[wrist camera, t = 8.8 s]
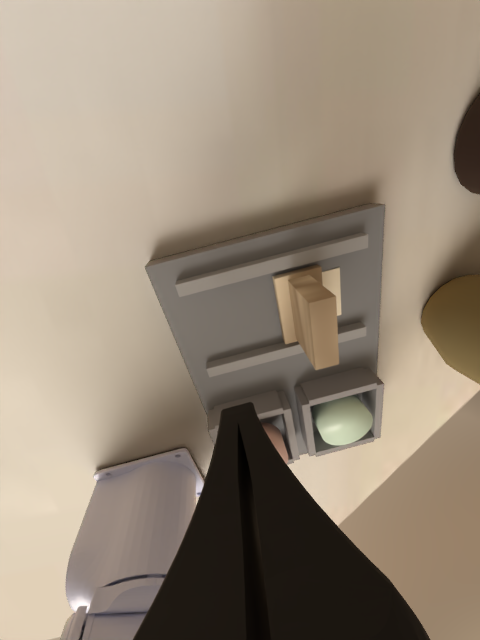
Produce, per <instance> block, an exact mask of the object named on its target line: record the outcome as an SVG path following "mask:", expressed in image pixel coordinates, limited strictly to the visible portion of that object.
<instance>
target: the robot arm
mask: <svg viewBox="0 0 480 640" xmlns="http://www.w3.org/2000/svg"><path fill="white" fill-rule="evenodd" d="M93 477H94V479H95V480H96V481H97V483H96V486H95V488H94V491H93V494H92V496H91V499H90V502H89V505H88V507H87V510H86V513H85V515H84V518H83V521H82V524H81V526H80V529H79V532H78V534H77V537H76V540H75V543H74V545H73V548H72V551H71V554H70V558H69V562H68V567H67V574H66V596H67V600H68V603H69V605H70V607H71V608H72V610H73V611H74V612H76V613H73V614H72V615H71V616H70V617H69V618H68V619H67V621H66V624H65V626H64V629H63V632H62V635H61V638H60V640H430V638H429V636H428V635H427V633H426V631H425V629H424V628H423V626H422V624H421V623H420V621H419V620H418V618H417V617H416V615H415V614H414V612H413V611H412V609H411V608H410V607H409V605H408V604H407V602H406V601H405V600H404V598H403V597H402V596H401V594H400V593H399V592H398V591H397V589H396V588H395V587H394V585H393V584H392V582H391V581H390V580H389V579H388V578H387V577H386V576H385V575H384V574H383V573H382V572H381V571H380V570H379V569H378V568H377V567H376V566H375V565H374V564H373V563H372V562H371V561H370V560H369V559H368V558H367V557H366V556H365V555H364V554H363V553H362V552H361V551H360V550H359V549H358V548H357V547H356V546H355V545H354V544H353V542H352V541H351V540H350V539H349V538H348V537H347V536H346V535H345V534H344V533H343V532H342V531H341V530H340V529H339V528H338V526H337V525H336V524H335V523H334V522H333V521H332V520H331V519H330V517H329V516H328V515H327V514H326V513H325V512H324V511H323V509H322V508H321V507H320V506H319V505H318V504H317V503H316V501H315V500H314V499H313V498H312V497H311V495H310V494H309V493H308V492H307V491H306V489H305V488H304V487H303V486H302V484H301V483H300V482H299V480H298V479H297V478H296V477H295V475H294V474H293V473H292V471H291V470H290V468H289V467H288V466H287V464H286V463H285V461H284V460H283V458H282V457H281V456H280V454H279V453H278V451H277V450H276V448H275V446H274V445H273V443H272V442H271V440H270V438H269V437H268V435H267V433H266V432H265V430H264V428H263V426H262V424H261V422H260V420H259V418H258V416H257V413H256V411H255V408H254V404H253V403H252V402H248V403H244V404H240V405H237V406H233V407H229V408H226V409H223V410H222V411H221V415H220V422H219V428H218V433H217V438H216V443H215V447H214V451H213V455H212V459H211V462H210V466H209V469H208V472H207V476H206V479H205V482H204V480H203V478H202V476H201V474H200V472H199V470H198V468H197V467H196V465H195V463H194V461H193V459H192V457H191V455H190V453H189V451H188V450H187V449H186V448H181V449H177V450H173V451H170V452H166V453H162V454H158V455H155V456H151V457H147V458H143V459H140V460H136V461H132V462H128V463H125V464H121V465H117V466H113V467H110V468H106V469H102V470H98V471H96V472H95V473H94V476H93ZM198 496H200V497H199V500H198V503H197V505H196V497H198Z"/></svg>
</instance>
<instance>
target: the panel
mask: <svg viewBox="0 0 480 640" xmlns="http://www.w3.org/2000/svg"><path fill="white" fill-rule="evenodd" d="M384 216H385V204H372V203H370V204H366V205H362V206H359V207H355V208H351V209H347V210H343V211H339V212H336V213H332V214H328V215H324V216H320V217H316V218H313V219H309V220H305V221H301V222H297V223H294V224H290V225H286V226H282V227H278V228H274V229H271V230H267V231H263V232H259V233H255V234H251V235H248V236H244V237H240V238H236V239H232V240H228V241H225V242H221V243H217V244H213V245H209V246H205V247H202V248H198V249H194V250H190V251H186V252H182V253H179V254H175V255H171V256H167V257H163V258H159V259H156V260H152V261H149V262H148V264H147V265H146V266H145V269H146V272H147V274H148V276H149V279H150V281H151V283H152V286H153V288H154V290H155V293H156V295H157V298H158V300H159V302H160V305H161V307H162V309H163V312H164V314H165V317H166V319H167V321H168V324H169V326H170V328H171V331H172V333H173V336H174V338H175V340H176V343H177V345H178V347H179V350H180V352H181V355H182V357H183V359H184V362H185V364H186V366H187V369H188V371H189V374H190V376H191V378H192V381H193V383H194V385H195V388H196V390H197V393H198V395H199V397H200V400H201V402H202V404H203V407H204V409H205V412H206V414H207V416H208V432H209V434H210V436H211V439H212V441H213V443H214V446H215V443H216V438H217V433H218V428H219V422H220V415H221V411H222V410H223V409H226V408H229V407H233V406H237V405H240V404H244V403H248V402H252V403H253V404H254V408H255V411H256V413H257V416H258V418H259V420H260V422H264V423H269V424H272V425H274V426H276V427H277V428H278V429H279V430H280V432H281V435H282V438H283V441H284V444H285V447H286V450H287V454H288V463H287V464H291V463H294V461H295V460H298V459H300V457H299V455H302V454H306V453H308V454H309V456H313V455H316V457H317V456H321V455H325V454H328V453H332V452H336V451H340V450H343V449H347V448H351V447H355V446H358V445H362V444H366V443H370V442H373V441H374V439H377V438H380V437H381V423H382V408H383V394H384V383H383V382H382V381H381V380H380V379H379V378H378V377H377V359H378V338H379V318H380V298H381V277H382V257H383V236H384ZM317 264H318V265H319V266H321V268H322V283H323V286H324V287H325V288H327V289H328V290H329V291H330V292H332V293H333V294H334V295H335V296H336V304H337V327H338V349H339V364H338V365H334V366H330V367H327V368H323V369H319V370H315V368H314V366H313V365H312V363H311V362H310V360H309V358H308V357H307V355H306V354H305V352H304V350H303V349H302V347H301V346H300V344H299V342H298V341H297V342H293V343H289V344H285V342H284V341H283V336H282V330H281V324H280V318H279V313H278V307H277V301H276V295H275V289H274V283H273V278H272V276H275V275H279V274H283V273H287V272H291V271H294V270H298V269H302V268H306V267H310V266H313V265H317ZM354 394H356V395H357V396H358V397H359V399H360V400H361V401H362V403H363V404H364V405H365V407H366V408H367V409H368V411H369V412H370V413H371V415H372V417H373V423H372V426H371V428H370V430H369V431H368V432H367V433H366V434H365V435H364V436H363V437H362V438H360V439H359V440H357V441H355V442H352V443H350V444H346V445H331V444H328V443H326V442H325V441H324V440H323V439H322V437H321V434H320V432H319V430H318V428H317V426H316V424H315V422H314V420H313V418H312V409H313V407H314V405H317V404H320V403H324V402H328V401H332V400H335V399H339V398H343V397H347V396H350V395H354Z"/></svg>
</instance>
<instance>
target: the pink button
mask: <svg viewBox="0 0 480 640" xmlns="http://www.w3.org/2000/svg"><path fill="white" fill-rule="evenodd" d="M261 424H262V426H263V428H264V430H265V432H266V433H267V435H268V437H269V438H270V440H271V442H272V443H273V445H274V446H275V448H276V450H277V451H278V453H279V454H280V456H281V457H282V458H283V460H284V461H285V463H286V464H287V463H288V454H287V450H286V447H285V444H284V441H283V438H282V435H281V432H280V430H279V429H278V428H277V427H276V426H274V425H272V424H269V423H264V422H261Z"/></svg>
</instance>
